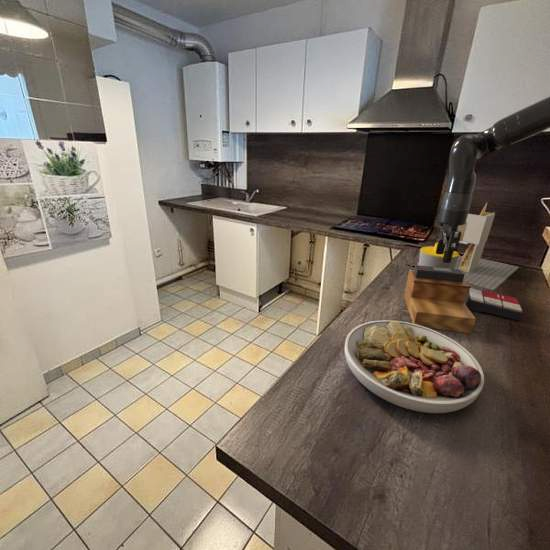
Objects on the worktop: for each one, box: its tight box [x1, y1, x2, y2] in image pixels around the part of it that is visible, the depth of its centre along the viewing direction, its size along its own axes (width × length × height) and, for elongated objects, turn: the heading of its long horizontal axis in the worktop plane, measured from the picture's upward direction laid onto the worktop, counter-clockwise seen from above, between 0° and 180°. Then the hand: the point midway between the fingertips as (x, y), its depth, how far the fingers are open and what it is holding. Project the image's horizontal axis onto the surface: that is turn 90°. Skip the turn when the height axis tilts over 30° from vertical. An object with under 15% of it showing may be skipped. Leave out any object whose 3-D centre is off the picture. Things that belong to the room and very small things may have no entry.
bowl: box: [344, 319, 485, 414], centre depth 70 cm, size 30×30×8 cm
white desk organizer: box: [458, 202, 496, 273], centre depth 133 cm, size 10×16×29 cm, turn 130°
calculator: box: [465, 287, 524, 322], centre depth 100 cm, size 11×4×15 cm
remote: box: [413, 265, 465, 282], centre depth 96 cm, size 14×5×3 cm, turn 76°
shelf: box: [403, 269, 477, 334], centre depth 95 cm, size 16×20×11 cm
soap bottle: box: [418, 242, 459, 269], centre depth 112 cm, size 13×13×21 cm
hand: (442, 257), depth 94 cm, fingers open, 8 cm apart
